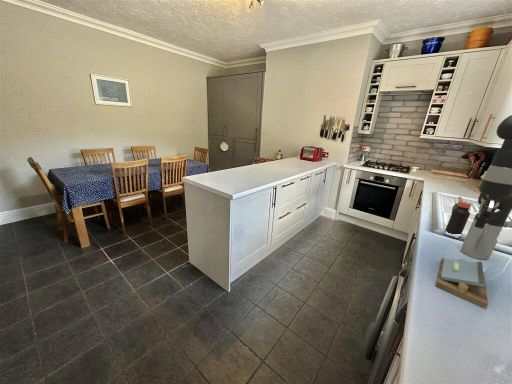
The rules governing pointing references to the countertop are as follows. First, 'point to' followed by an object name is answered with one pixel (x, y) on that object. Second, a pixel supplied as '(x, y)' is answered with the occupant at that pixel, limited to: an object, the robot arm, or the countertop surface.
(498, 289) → the countertop surface
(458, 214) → the bottle
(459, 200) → the vegetable
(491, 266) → the countertop surface
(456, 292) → the base
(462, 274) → the level plate
